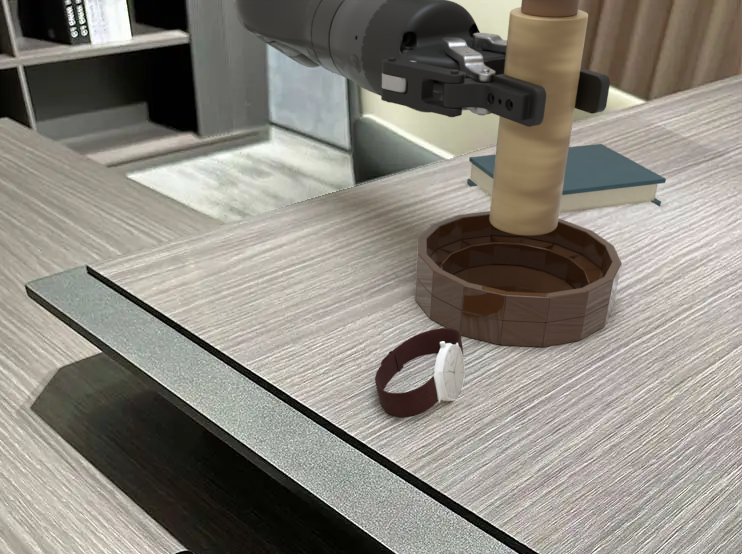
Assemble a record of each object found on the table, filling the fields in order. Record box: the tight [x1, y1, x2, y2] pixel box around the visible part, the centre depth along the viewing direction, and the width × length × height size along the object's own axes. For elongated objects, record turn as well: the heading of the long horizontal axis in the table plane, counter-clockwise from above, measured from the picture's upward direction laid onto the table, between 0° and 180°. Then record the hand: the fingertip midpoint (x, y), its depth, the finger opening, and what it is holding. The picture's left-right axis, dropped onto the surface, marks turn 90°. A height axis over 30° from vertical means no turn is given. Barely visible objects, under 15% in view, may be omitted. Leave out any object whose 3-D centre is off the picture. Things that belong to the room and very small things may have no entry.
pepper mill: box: [489, 0, 589, 236], centre depth 50 cm, size 4×4×15 cm
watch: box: [374, 327, 466, 419], centre depth 46 cm, size 8×5×4 cm, turn 153°
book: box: [466, 143, 667, 213], centre depth 73 cm, size 14×10×2 cm
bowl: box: [414, 210, 623, 348], centre depth 55 cm, size 13×13×4 cm
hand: (572, 101), depth 47 cm, fingers closed on pepper mill, 4 cm apart
